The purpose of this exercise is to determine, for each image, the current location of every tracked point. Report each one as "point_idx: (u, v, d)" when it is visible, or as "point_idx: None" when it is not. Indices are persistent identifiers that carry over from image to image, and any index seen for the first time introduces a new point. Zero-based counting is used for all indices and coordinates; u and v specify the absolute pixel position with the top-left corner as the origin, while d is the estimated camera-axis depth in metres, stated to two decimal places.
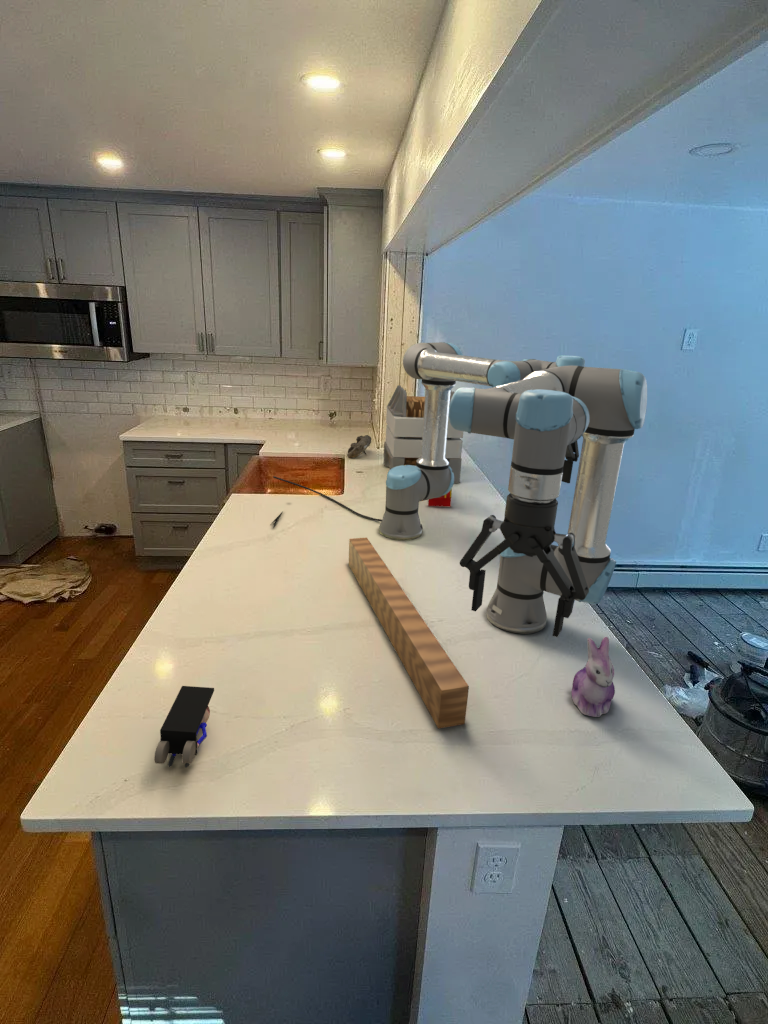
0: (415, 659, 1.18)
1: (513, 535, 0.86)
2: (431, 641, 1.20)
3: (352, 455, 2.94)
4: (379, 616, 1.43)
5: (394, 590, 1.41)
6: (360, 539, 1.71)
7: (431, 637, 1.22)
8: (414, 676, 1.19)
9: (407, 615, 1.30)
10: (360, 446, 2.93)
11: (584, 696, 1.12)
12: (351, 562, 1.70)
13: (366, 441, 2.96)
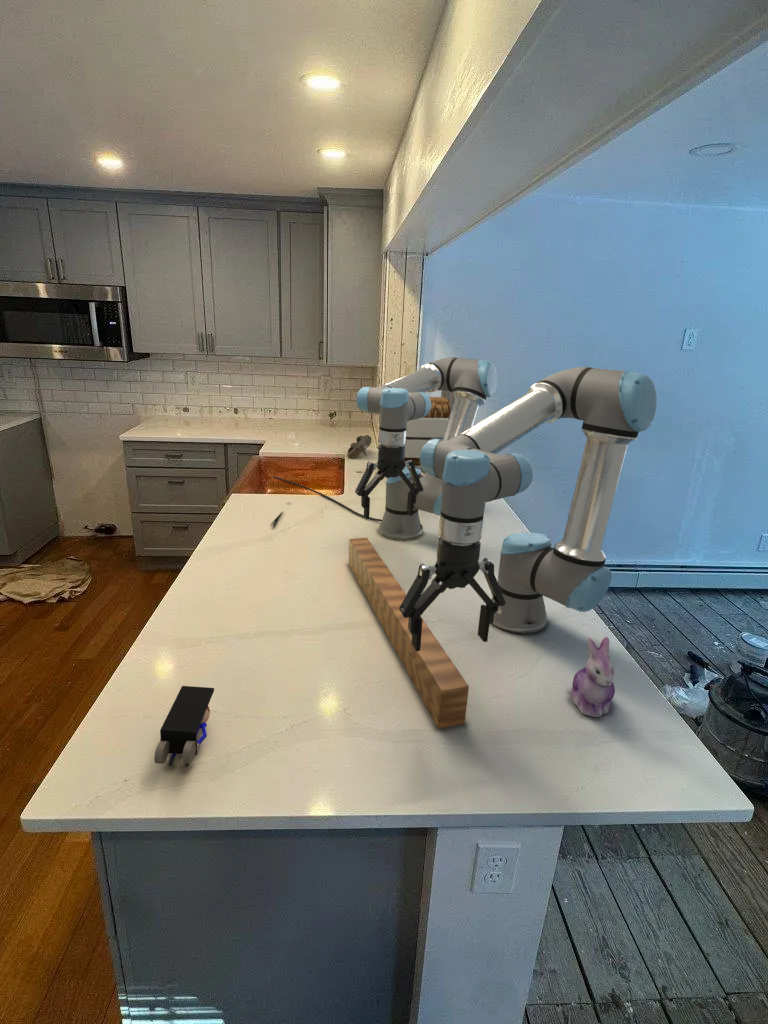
0: (415, 659, 1.18)
1: (452, 575, 1.00)
2: (431, 641, 1.20)
3: (352, 455, 2.94)
4: (379, 616, 1.43)
5: (394, 590, 1.41)
6: (360, 539, 1.71)
7: (431, 637, 1.22)
8: (414, 676, 1.19)
9: None
10: (360, 446, 2.93)
11: (584, 696, 1.12)
12: (351, 562, 1.70)
13: (366, 441, 2.96)
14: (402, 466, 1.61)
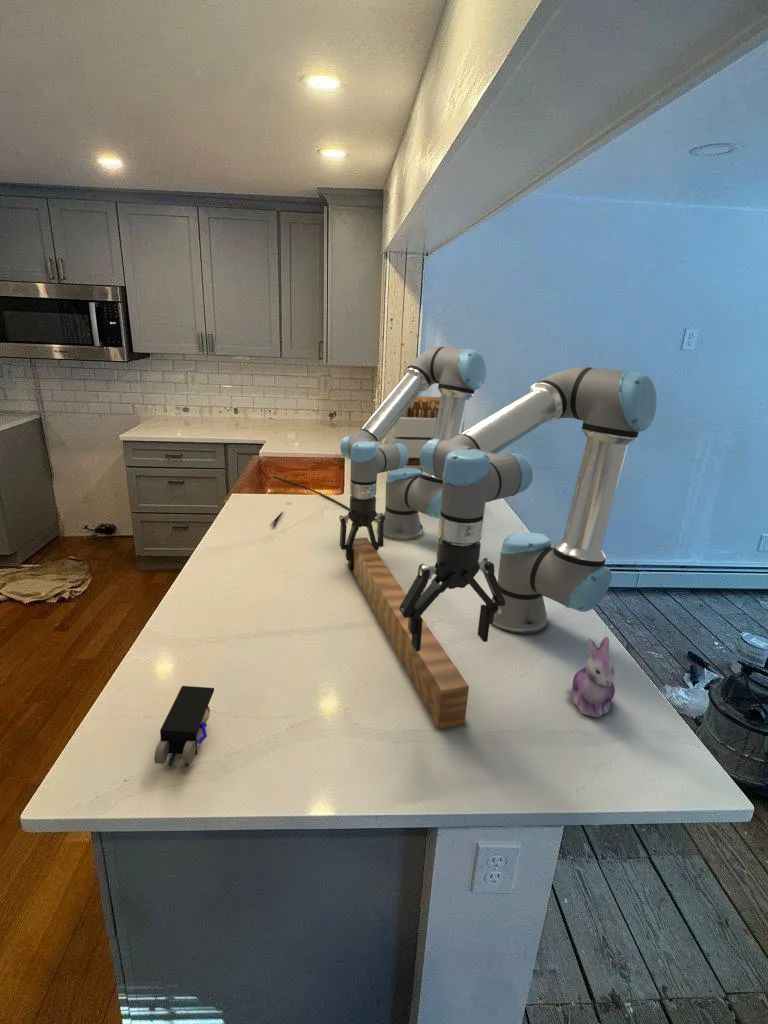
0: (415, 659, 1.18)
1: (452, 575, 1.00)
2: (431, 641, 1.20)
3: None
4: (379, 616, 1.43)
5: (394, 590, 1.41)
6: (360, 539, 1.71)
7: (430, 637, 1.22)
8: (414, 676, 1.19)
9: None
10: None
11: (584, 696, 1.12)
12: None
13: None
14: (373, 516, 1.65)
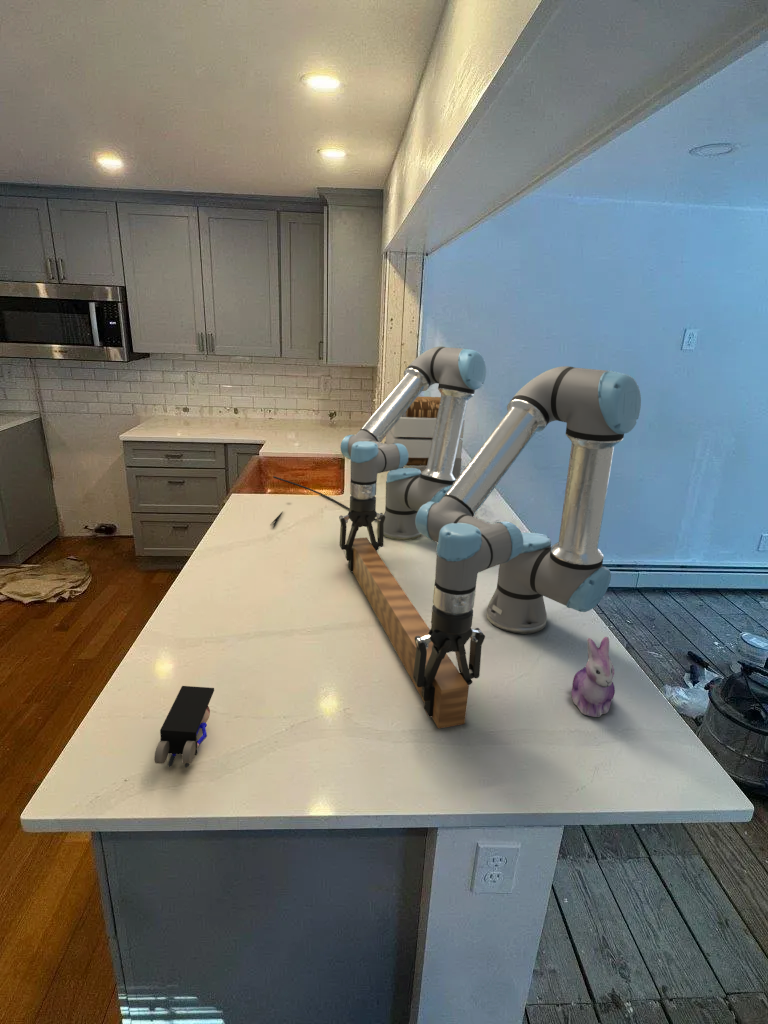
0: None
1: (446, 641, 1.04)
2: (431, 641, 1.20)
3: None
4: (379, 616, 1.43)
5: (394, 590, 1.41)
6: (360, 539, 1.71)
7: None
8: None
9: (407, 615, 1.30)
10: None
11: (584, 696, 1.12)
12: None
13: None
14: (373, 516, 1.65)
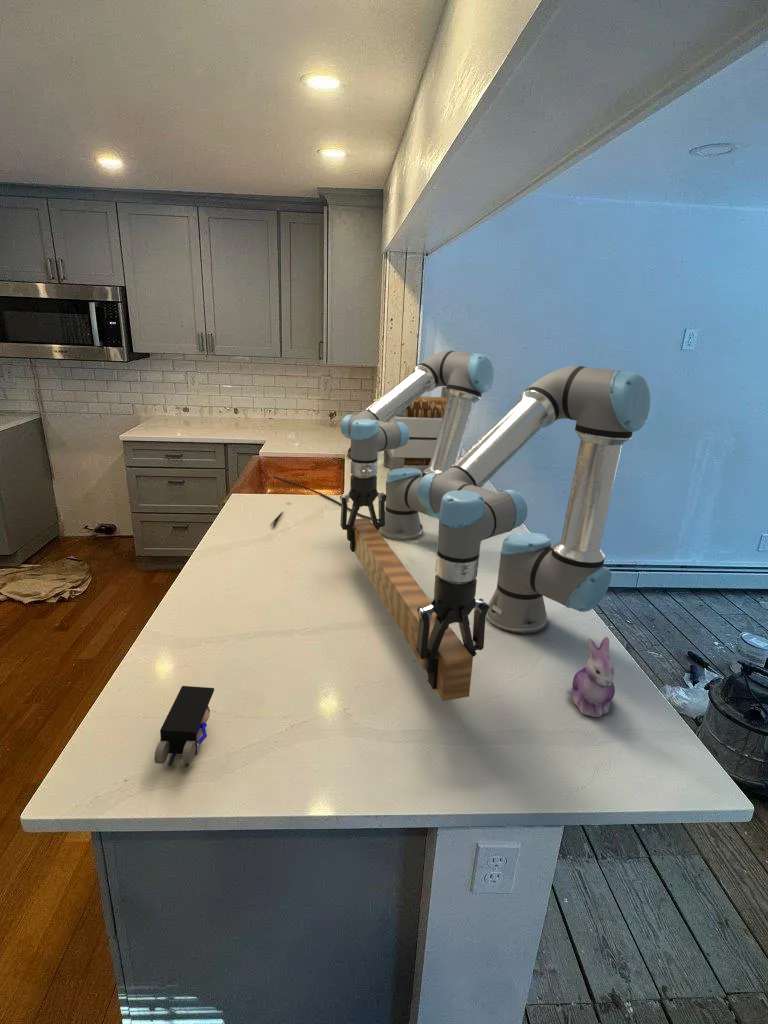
0: None
1: (449, 612, 1.02)
2: (434, 615, 1.18)
3: None
4: (381, 594, 1.42)
5: (396, 567, 1.39)
6: (361, 519, 1.69)
7: None
8: None
9: (410, 590, 1.28)
10: None
11: (584, 696, 1.12)
12: None
13: None
14: (374, 495, 1.63)
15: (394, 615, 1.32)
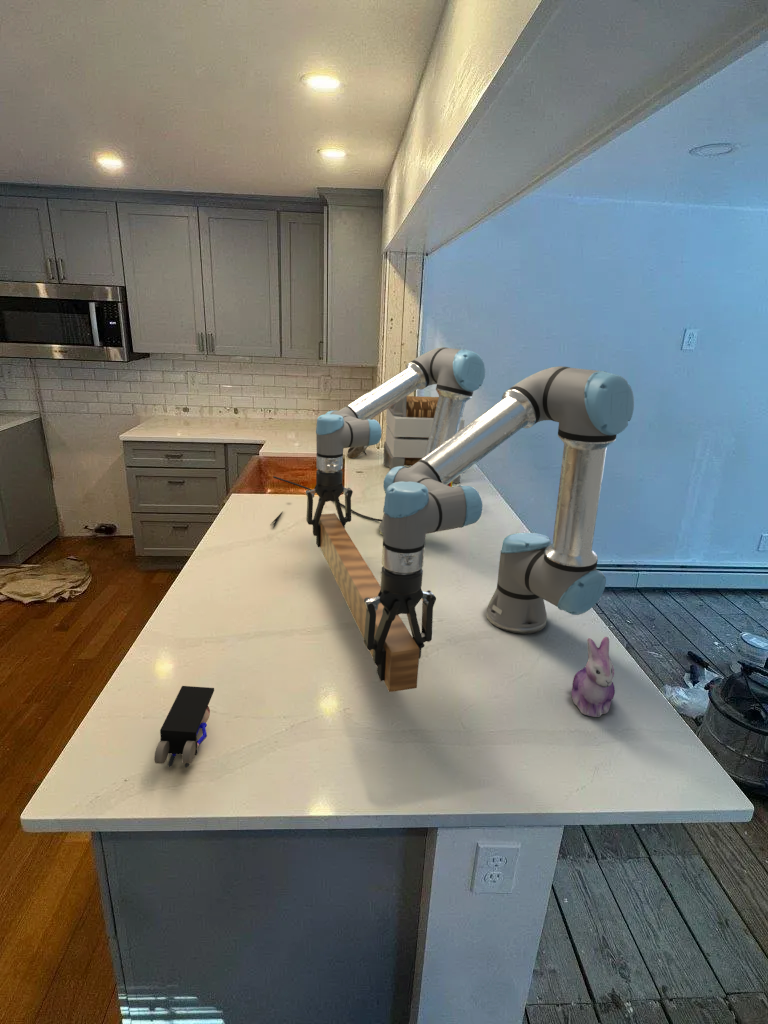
0: None
1: (395, 603, 1.03)
2: None
3: (352, 455, 2.94)
4: (341, 588, 1.42)
5: (356, 561, 1.39)
6: (328, 515, 1.70)
7: None
8: None
9: (366, 583, 1.29)
10: None
11: (584, 696, 1.12)
12: None
13: None
14: (340, 490, 1.64)
15: (351, 608, 1.32)
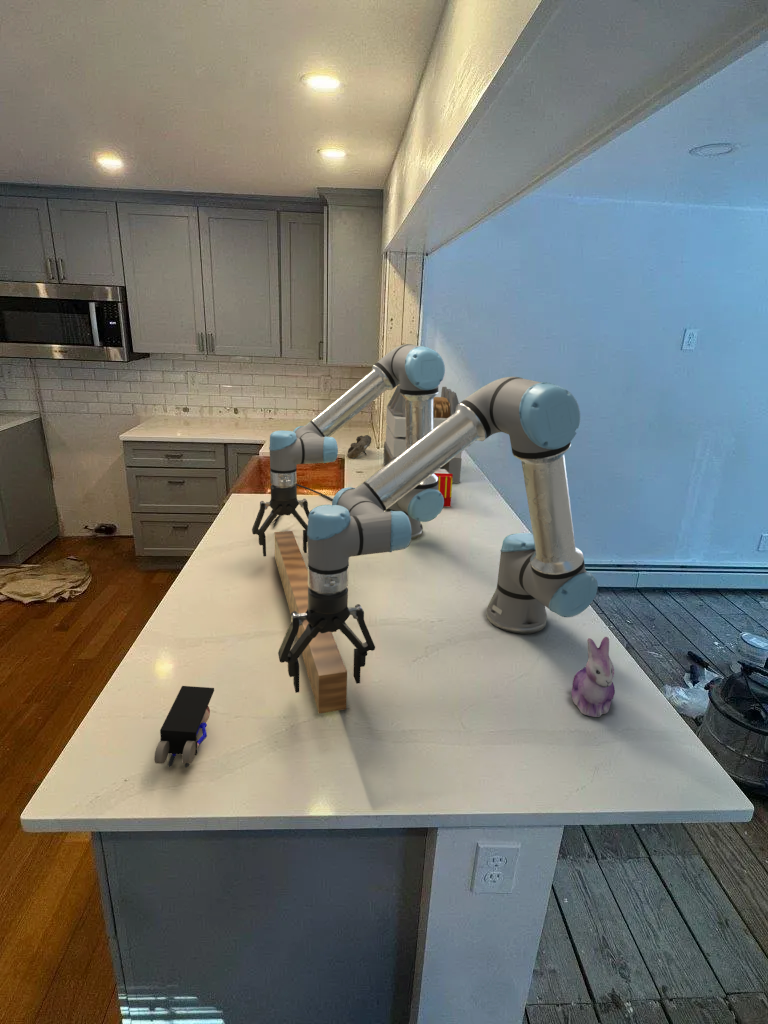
0: (306, 647, 1.21)
1: (321, 621, 1.06)
2: None
3: (352, 455, 2.94)
4: (289, 607, 1.46)
5: (303, 581, 1.43)
6: (285, 532, 1.73)
7: None
8: (306, 663, 1.22)
9: None
10: (360, 446, 2.93)
11: (584, 696, 1.12)
12: None
13: (366, 441, 2.96)
14: (294, 505, 1.67)
15: None
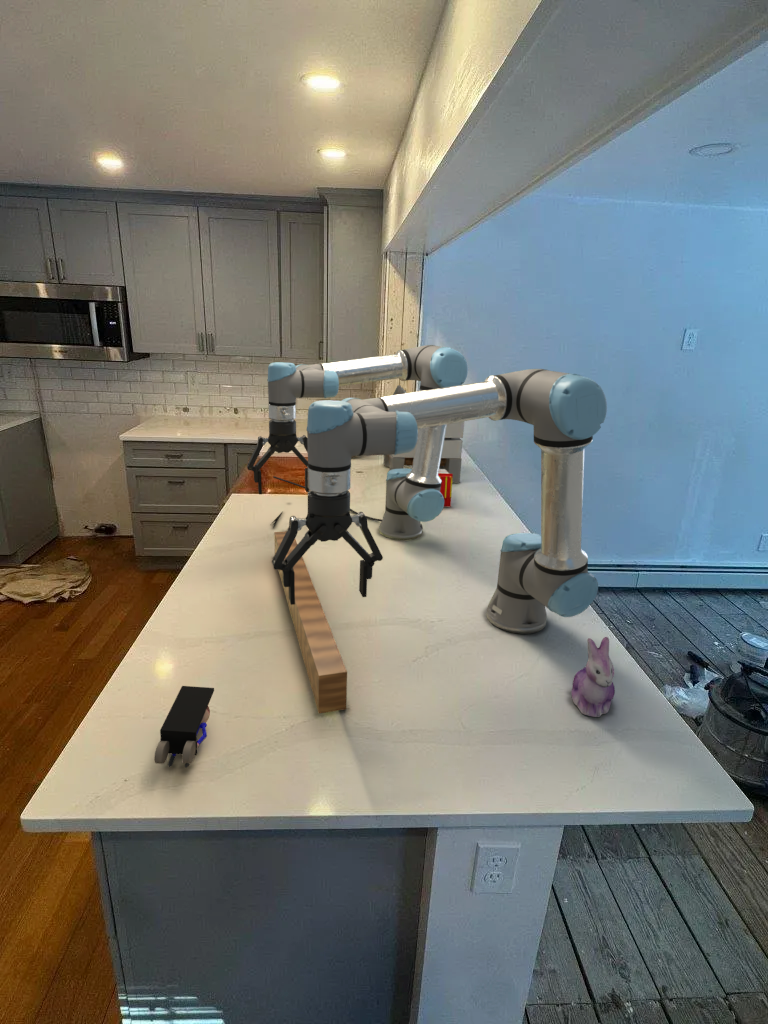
0: (306, 647, 1.21)
1: (322, 527, 1.00)
2: (323, 630, 1.22)
3: None
4: (289, 607, 1.46)
5: (303, 581, 1.43)
6: (285, 532, 1.73)
7: (324, 625, 1.24)
8: (306, 663, 1.22)
9: (308, 604, 1.32)
10: None
11: (584, 696, 1.12)
12: None
13: None
14: (294, 441, 1.60)
15: (295, 628, 1.36)
